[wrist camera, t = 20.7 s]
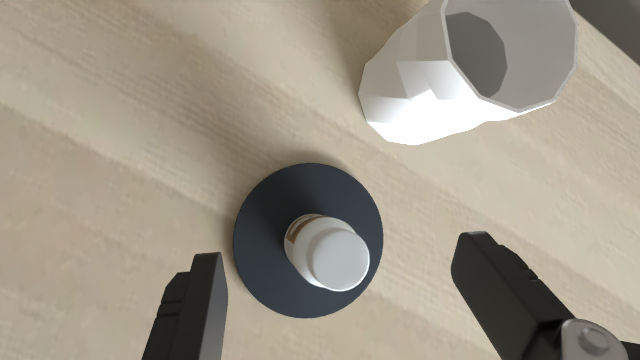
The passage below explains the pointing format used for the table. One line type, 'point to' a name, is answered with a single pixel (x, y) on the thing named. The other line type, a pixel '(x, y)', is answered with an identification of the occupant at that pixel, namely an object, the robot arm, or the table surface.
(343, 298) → the rubber mat
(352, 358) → the table surface
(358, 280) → the pill bottle
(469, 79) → the vase
